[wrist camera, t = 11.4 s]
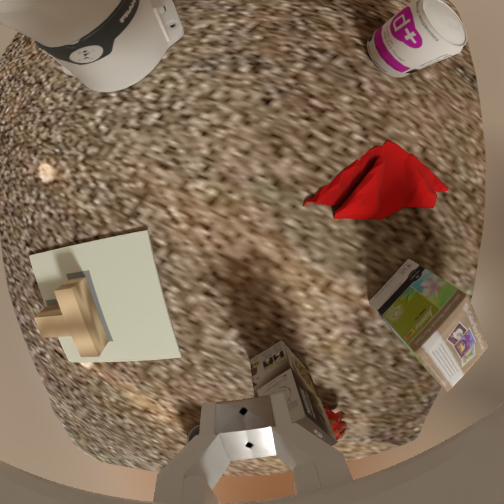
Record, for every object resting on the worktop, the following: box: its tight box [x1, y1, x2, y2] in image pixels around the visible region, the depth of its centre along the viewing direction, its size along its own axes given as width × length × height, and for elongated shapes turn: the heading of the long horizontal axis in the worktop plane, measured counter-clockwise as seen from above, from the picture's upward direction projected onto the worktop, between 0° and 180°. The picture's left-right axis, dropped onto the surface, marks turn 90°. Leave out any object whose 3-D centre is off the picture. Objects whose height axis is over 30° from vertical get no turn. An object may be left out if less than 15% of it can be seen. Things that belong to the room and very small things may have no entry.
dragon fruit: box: [322, 404, 347, 440], centre depth 44 cm, size 8×8×12 cm
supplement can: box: [367, 0, 467, 77], centre depth 24 cm, size 8×8×15 cm
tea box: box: [369, 259, 488, 392], centre depth 36 cm, size 15×10×15 cm, turn 46°
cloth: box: [303, 140, 448, 220], centre depth 37 cm, size 26×14×2 cm, turn 86°
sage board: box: [29, 230, 182, 362], centre depth 38 cm, size 20×22×1 cm
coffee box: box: [250, 340, 337, 446], centre depth 36 cm, size 9×6×16 cm
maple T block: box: [34, 277, 109, 357], centre depth 36 cm, size 11×10×4 cm
